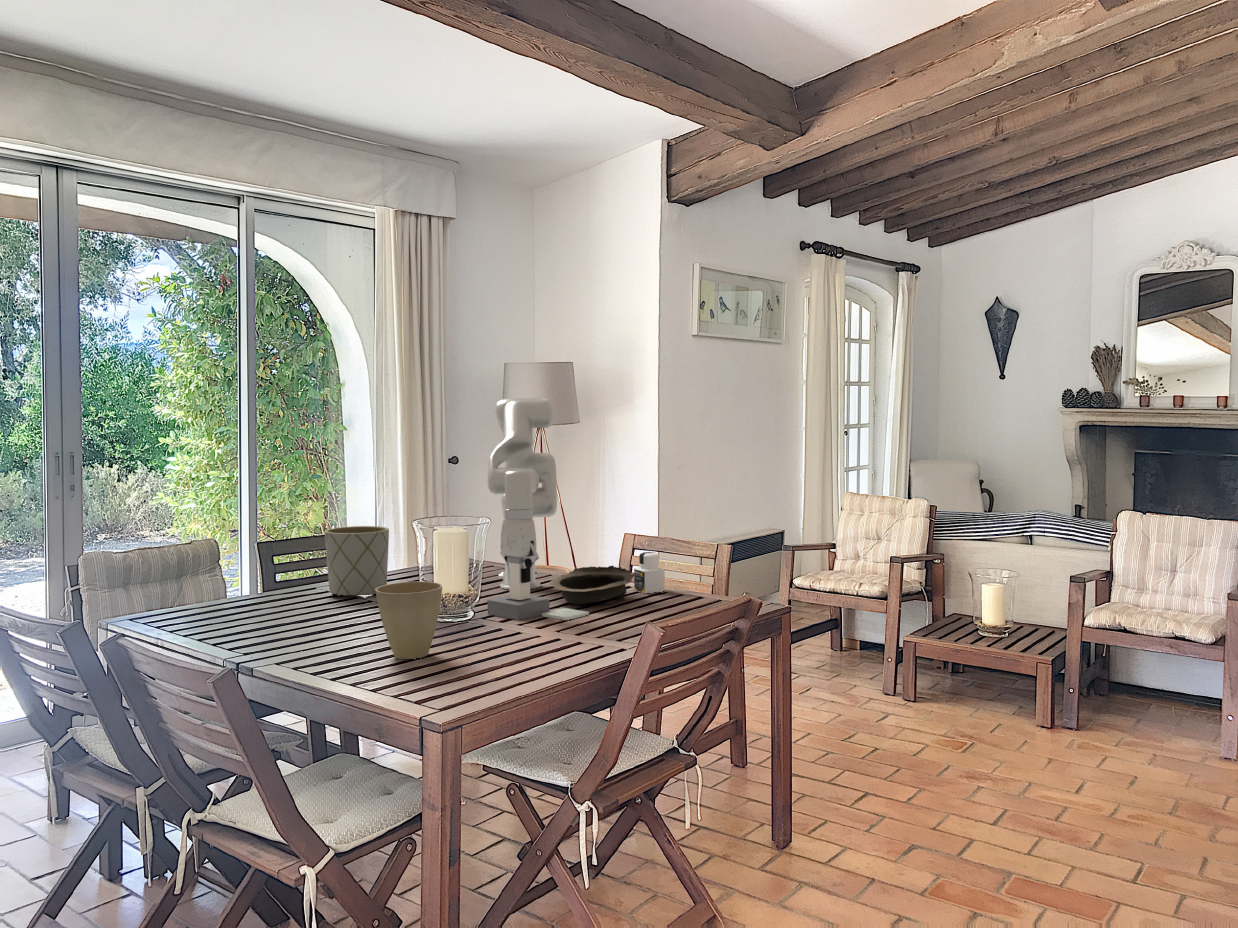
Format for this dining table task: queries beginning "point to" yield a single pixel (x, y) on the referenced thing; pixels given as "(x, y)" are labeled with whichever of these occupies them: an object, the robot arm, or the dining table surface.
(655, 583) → the medicine bottle
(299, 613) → the dining table surface
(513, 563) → the plug
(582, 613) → the coaster
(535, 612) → the grey square ring
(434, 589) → the plant pot
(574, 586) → the stone bowl
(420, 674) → the dining table surface
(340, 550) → the planter
